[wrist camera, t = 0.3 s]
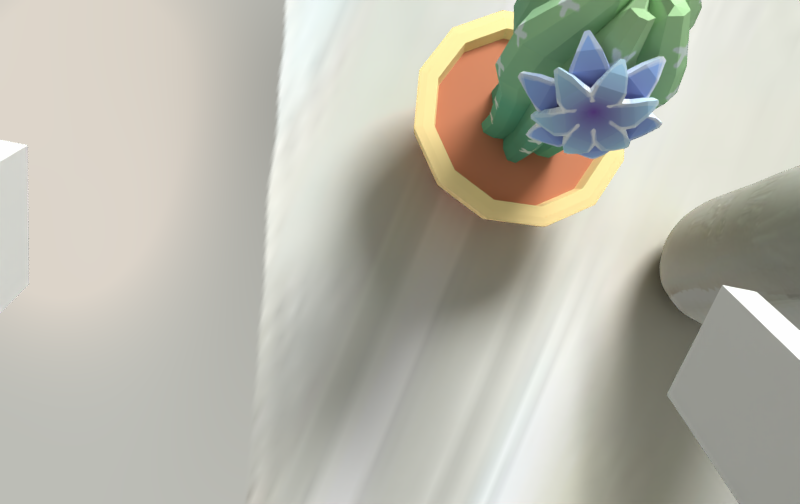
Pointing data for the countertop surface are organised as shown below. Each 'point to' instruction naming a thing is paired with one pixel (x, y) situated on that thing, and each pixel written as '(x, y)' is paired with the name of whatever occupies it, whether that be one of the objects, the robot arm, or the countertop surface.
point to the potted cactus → (547, 101)
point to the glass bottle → (738, 248)
